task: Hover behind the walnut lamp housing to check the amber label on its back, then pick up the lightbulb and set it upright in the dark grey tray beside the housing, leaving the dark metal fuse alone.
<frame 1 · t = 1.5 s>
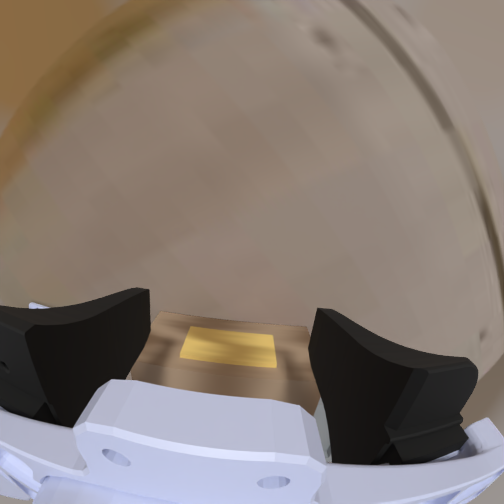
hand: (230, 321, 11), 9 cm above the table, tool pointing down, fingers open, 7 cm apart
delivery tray: (298, 427, 25), on the table
lamp housing: (230, 341, 22), on the table
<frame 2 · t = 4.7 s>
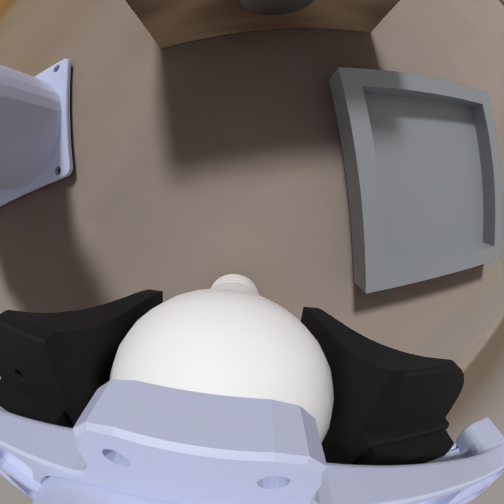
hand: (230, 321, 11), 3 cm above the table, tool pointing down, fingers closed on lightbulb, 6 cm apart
lightbulb: (234, 289, 15), on the table, touching gripper
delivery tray: (429, 174, 13), on the table
lamp housing: (264, 5, 11), on the table
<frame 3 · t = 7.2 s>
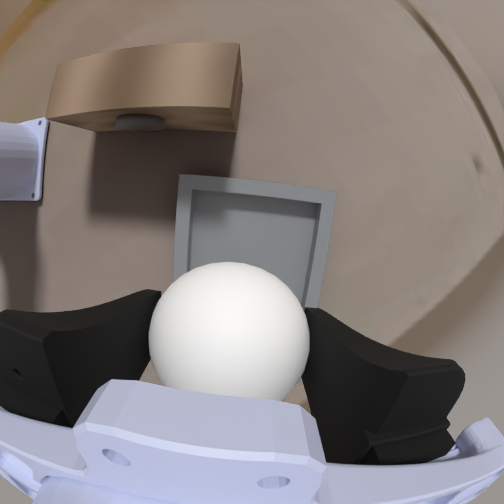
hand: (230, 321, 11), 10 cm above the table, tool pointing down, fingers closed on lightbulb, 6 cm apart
lightbulb: (234, 281, 18), point 3 cm above the table, touching gripper
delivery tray: (250, 253, 21), on the table
lamp housing: (163, 105, 18), on the table
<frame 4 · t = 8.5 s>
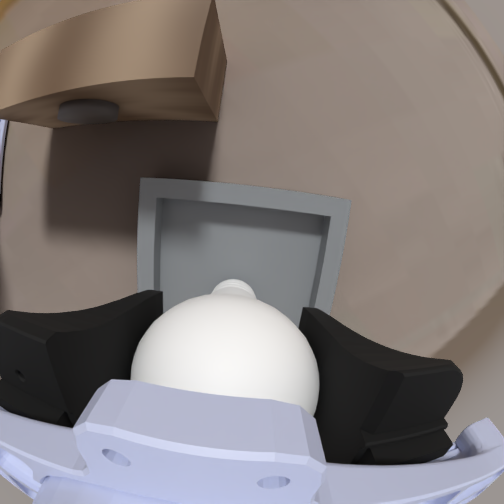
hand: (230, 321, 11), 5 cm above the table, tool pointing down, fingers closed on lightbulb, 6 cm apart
lightbulb: (233, 293, 16), resting on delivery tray, touching gripper
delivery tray: (236, 278, 16), on the table
lamp housing: (127, 91, 14), on the table
when the fingers open (5 cm above the table, at t = 9.2 s): lightbulb stays where it is, resting on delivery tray.
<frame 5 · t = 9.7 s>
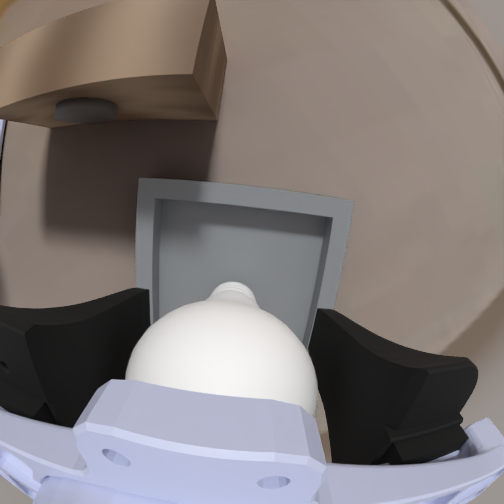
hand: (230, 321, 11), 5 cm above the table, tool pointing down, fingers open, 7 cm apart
lightbulb: (233, 295, 16), resting on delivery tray
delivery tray: (236, 281, 16), on the table
lamp housing: (126, 90, 13), on the table
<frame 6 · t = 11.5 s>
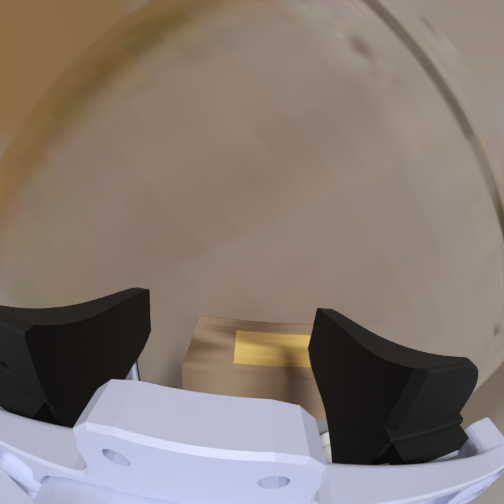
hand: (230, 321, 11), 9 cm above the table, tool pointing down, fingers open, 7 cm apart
lamp housing: (271, 343, 22), on the table
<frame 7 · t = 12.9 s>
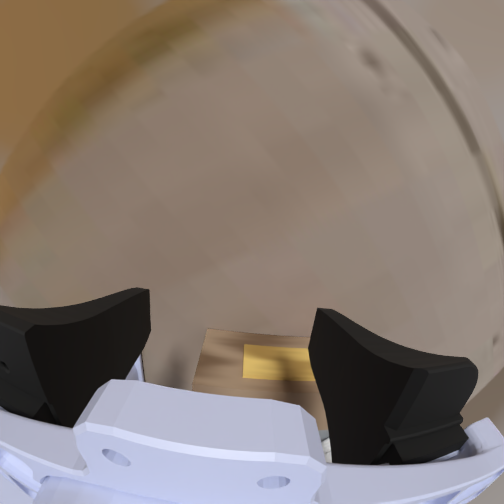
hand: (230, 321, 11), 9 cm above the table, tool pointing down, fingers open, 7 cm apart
lamp housing: (277, 355, 22), on the table
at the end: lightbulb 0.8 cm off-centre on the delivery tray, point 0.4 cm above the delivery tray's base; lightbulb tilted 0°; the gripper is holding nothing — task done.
